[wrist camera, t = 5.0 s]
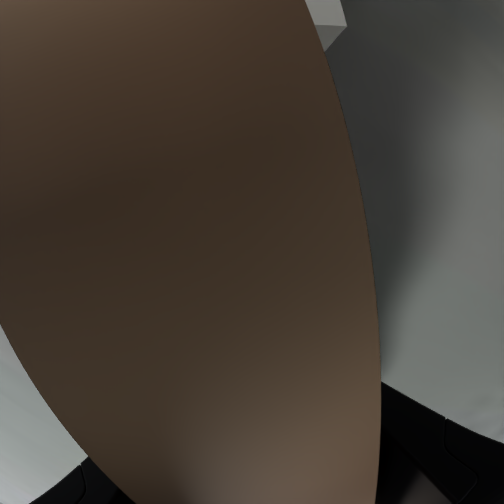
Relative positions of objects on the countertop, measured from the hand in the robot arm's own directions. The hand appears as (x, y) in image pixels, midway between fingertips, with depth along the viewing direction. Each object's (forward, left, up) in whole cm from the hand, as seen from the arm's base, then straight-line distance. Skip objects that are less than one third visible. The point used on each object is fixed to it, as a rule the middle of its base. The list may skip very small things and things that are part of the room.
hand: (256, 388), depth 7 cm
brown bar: (0, 0, -1) cm, 1 cm away
